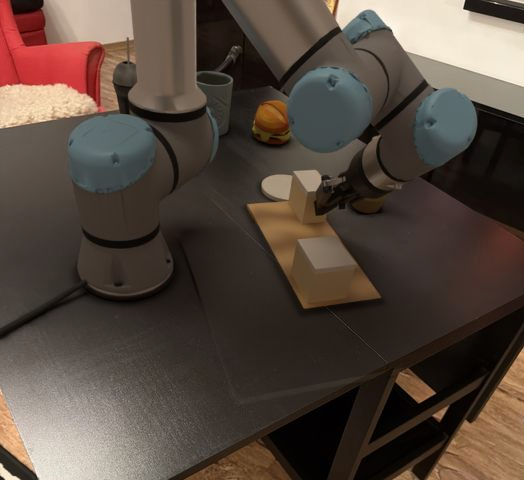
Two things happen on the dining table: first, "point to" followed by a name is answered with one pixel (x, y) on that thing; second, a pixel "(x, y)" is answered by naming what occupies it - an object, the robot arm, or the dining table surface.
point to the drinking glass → (217, 96)
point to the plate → (277, 187)
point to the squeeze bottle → (370, 203)
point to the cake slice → (305, 196)
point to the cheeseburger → (272, 123)
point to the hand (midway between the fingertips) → (318, 208)
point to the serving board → (284, 243)
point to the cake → (322, 269)
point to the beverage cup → (124, 81)
